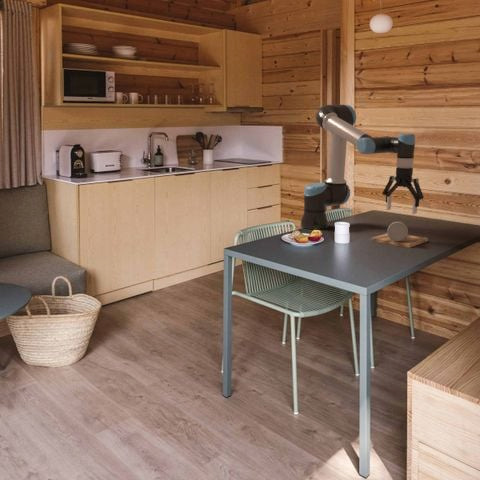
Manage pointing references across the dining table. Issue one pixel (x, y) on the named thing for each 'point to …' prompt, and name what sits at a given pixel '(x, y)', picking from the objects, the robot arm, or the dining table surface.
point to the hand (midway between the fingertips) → (401, 211)
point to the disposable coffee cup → (397, 231)
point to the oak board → (407, 242)
